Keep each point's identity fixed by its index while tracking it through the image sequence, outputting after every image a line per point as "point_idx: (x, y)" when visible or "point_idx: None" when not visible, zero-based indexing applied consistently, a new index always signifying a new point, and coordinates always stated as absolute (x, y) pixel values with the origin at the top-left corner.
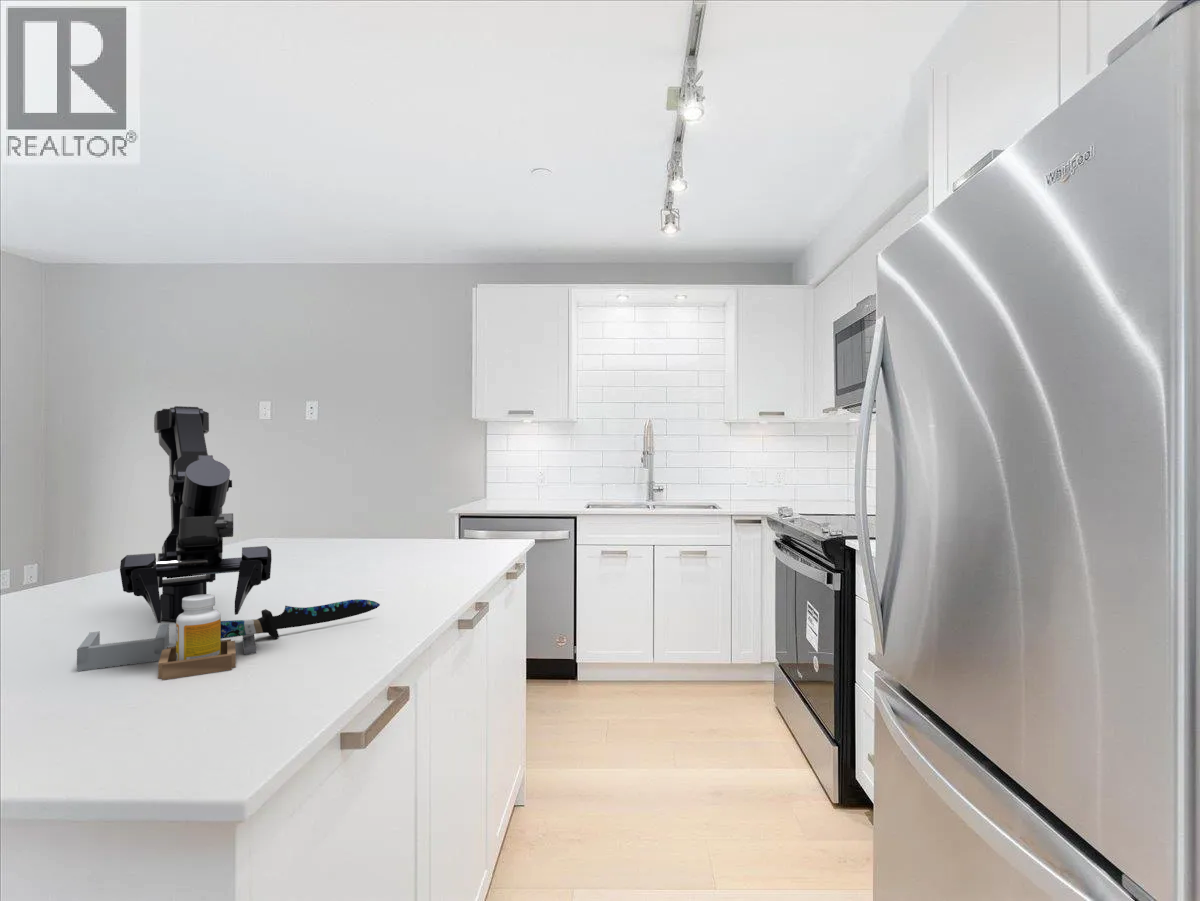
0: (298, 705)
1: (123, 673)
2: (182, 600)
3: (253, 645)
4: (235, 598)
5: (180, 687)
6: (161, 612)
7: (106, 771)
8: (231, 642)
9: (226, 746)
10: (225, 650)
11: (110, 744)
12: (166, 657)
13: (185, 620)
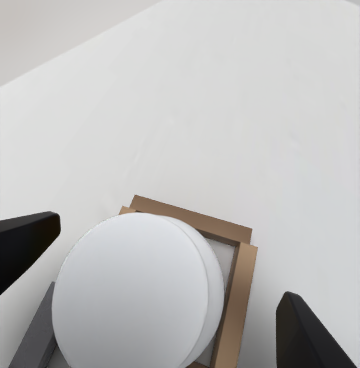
0: (148, 42)
1: None
2: (208, 295)
3: (50, 295)
4: (10, 229)
5: (227, 174)
6: (287, 348)
7: (314, 15)
8: None
9: (228, 8)
10: None
11: (314, 55)
12: (236, 287)
13: (205, 241)
